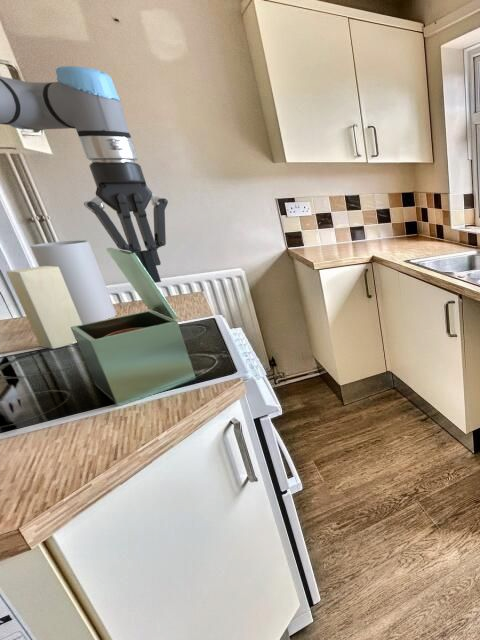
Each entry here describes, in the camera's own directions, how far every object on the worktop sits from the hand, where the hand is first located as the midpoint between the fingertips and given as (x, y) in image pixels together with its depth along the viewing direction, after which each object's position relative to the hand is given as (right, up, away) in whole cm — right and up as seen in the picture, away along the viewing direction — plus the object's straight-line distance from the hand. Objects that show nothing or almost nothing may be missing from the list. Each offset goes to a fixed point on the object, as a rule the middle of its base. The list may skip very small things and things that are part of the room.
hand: (154, 281), depth 90 cm
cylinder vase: (-60, -6, +47) cm, 76 cm away
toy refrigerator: (-49, -13, +28) cm, 58 cm away
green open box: (-4, -22, +2) cm, 22 cm away
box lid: (-1, -1, -2) cm, 3 cm away
